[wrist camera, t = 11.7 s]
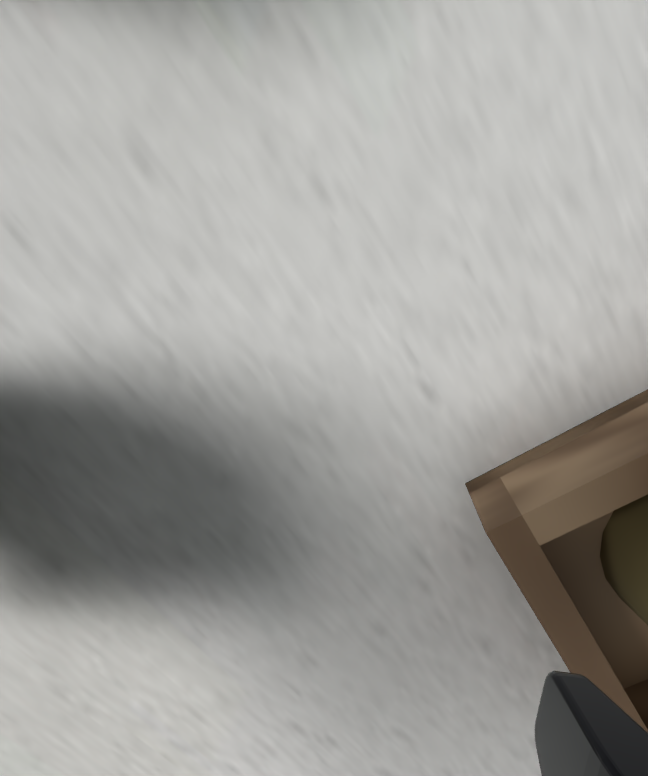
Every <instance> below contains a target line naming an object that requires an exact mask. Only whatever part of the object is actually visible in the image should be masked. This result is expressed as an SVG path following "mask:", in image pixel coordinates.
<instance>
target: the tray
mask: <svg viewBox="0 0 648 776" xmlns="http://www.w3.org/2000/svg"><path fill="white" fill-rule="evenodd" d="M465 484H466V487H467V489H468V491H469V494H470V496H471V499H472V501H473V503H474V506H475V508H476V511H477V513H478V515H479V518H480V520H481V522H482V525H483V527H484V530H485V532H486V534H487V536H488V537H489V539H490V540H491V542H492V544H493V545H494V547H495V549H496V550H497V552H498V554H499V555H500V557H501V559H502V560H503V562H504V564H505V565H506V567H507V568H508V570H509V572H510V573H511V575H512V577H513V578H514V580H515V582H516V583H517V585H518V587H519V588H520V590H521V592H522V593H523V595H524V596H525V598H526V600H527V601H528V603H529V605H530V606H531V608H532V610H533V611H534V613H535V615H536V616H537V618H538V620H539V621H540V623H541V624H542V626H543V628H544V629H545V631H546V633H547V634H548V636H549V638H550V639H551V641H552V643H553V644H554V646H555V648H556V649H557V651H558V652H559V654H560V656H561V657H562V659H563V661H564V662H565V664H566V666H567V667H568V669H569V671H570V672H571V673H575V674H581V675H583V676H585V677H587V678H588V679H589V680H590V681H592V682H593V683H594V684H595V685H596V686H597V687H598V688H599V689H600V690H601V691H603V692H604V693H605V694H606V695H607V696H608V697H609V698H610V699H611V700H612V701H614V702H615V703H616V704H617V705H618V706H619V707H620V708H621V709H622V710H623V711H625V712H626V713H627V714H628V715H629V716H630V717H631V718H632V719H633V720H634V721H636V722H637V723H638V724H639V725H640V726H641V727H642V728H643V729H644V730H645V731H647V732H648V625H647V624H646V623H645V622H644V621H643V620H642V619H641V618H640V617H639V616H638V615H637V614H636V613H635V612H634V611H633V610H632V609H631V608H630V607H629V606H628V605H626V604H625V603H624V602H623V601H622V600H621V599H620V598H619V596H618V595H617V594H616V592H615V591H614V589H613V588H612V587H611V585H610V584H609V583H608V581H607V580H606V578H605V575H604V571H603V567H602V563H601V559H600V550H601V542H602V534H603V531H604V529H605V527H606V525H607V523H608V521H609V519H610V517H611V515H612V513H613V511H614V510H616V509H618V508H620V507H622V506H625V505H627V504H629V503H631V502H633V501H635V500H637V499H639V498H641V497H644V496H646V495H648V390H646V391H644V392H642V393H640V394H638V395H636V396H634V397H632V398H630V399H628V400H626V401H625V402H623V403H621V404H619V405H617V406H615V407H613V408H611V409H609V410H607V411H605V412H603V413H601V414H599V415H597V416H595V417H593V418H592V419H590V420H588V421H586V422H584V423H582V424H580V425H578V426H576V427H574V428H572V429H570V430H568V431H566V432H564V433H562V434H560V435H558V436H557V437H555V438H553V439H551V440H549V441H547V442H545V443H543V444H541V445H539V446H537V447H535V448H533V449H531V450H529V451H527V452H525V453H524V454H522V455H520V456H518V457H516V458H514V459H512V460H510V461H508V462H506V463H504V464H502V465H500V466H498V467H496V468H494V469H492V470H491V471H489V472H487V473H485V474H483V475H481V476H479V477H477V478H475V479H473V480H471V481H469V482H467V483H465Z"/></svg>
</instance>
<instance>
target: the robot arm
mask: <svg viewBox="0 0 648 776" xmlns="http://www.w3.org/2000/svg"><path fill="white" fill-rule="evenodd" d="M535 742H536V748H537V753H538V758H539V763H540V768H541V774H542V776H648V732H647V731H645V730H644V729H643V728H642V727H641V726H640V725H639V724H638V723H637V722H636V721H634V720H633V719H632V718H631V717H630V716H629V715H628V714H627V713H626V712H625V711H623V710H622V709H621V708H620V707H619V706H618V705H617V704H616V703H615V702H614V701H612V700H611V699H610V698H609V697H608V696H607V695H606V694H605V693H604V692H603V691H601V690H600V689H599V688H598V687H597V686H596V685H595V684H594V683H593V682H592V681H590V680H589V679H588V678H587V677H585V676H583V675H581V674H575V673H567V672H559V671H553V672H550V673H549V674H548V675H547V677H546V679H545V683H544V687H543V692H542V696H541V700H540V705H539V709H538V713H537V718H536V723H535Z"/></svg>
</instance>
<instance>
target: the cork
mask: <svg viewBox="0 0 648 776" xmlns="http://www.w3.org/2000/svg"><path fill="white" fill-rule="evenodd" d="M600 559H601V563H602V567H603V571H604V575H605V578H606V580H607V581H608V583H609V584H610V585H611V587H612V588H613V589H614V591H615V592H616V594H617V595H618V596H619V598H620V599H621V600H622V601H623V602H624V603H625V604H626V605H628V606H629V607H630V608H631V609H632V610H633V611H634V612H635V613H636V614H637V615H638V616H639V617H640V618H641V619H642V620H643V621H644V622H645V623H646V624H647V625H648V495H646V496H644V497H641V498H639V499H637V500H635V501H633V502H631V503H629V504H627V505H625V506H622V507H620V508H618V509H616V510H614V511H613V513H612V515H611V517H610V519H609V521H608V523H607V525H606V527H605V529H604V531H603V534H602V542H601V550H600Z"/></svg>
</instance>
